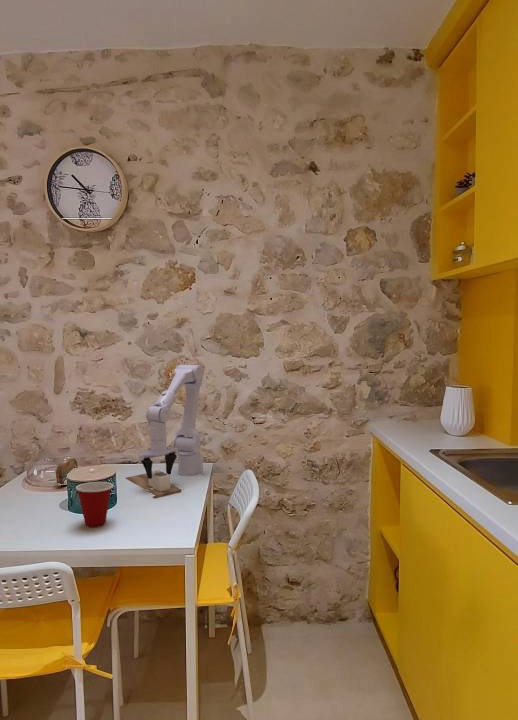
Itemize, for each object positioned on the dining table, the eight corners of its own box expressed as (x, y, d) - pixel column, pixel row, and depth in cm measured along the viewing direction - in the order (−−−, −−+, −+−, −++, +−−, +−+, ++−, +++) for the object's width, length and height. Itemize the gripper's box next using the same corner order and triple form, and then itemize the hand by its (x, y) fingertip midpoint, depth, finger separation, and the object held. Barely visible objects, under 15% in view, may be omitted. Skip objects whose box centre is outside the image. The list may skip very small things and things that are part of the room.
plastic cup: (121, 518, 155) (120, 481, 154) (100, 532, 145) (99, 492, 144) (92, 514, 158) (90, 477, 158) (69, 528, 148) (67, 488, 147)
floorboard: (148, 475, 199) (148, 472, 199) (181, 492, 179) (181, 488, 179) (124, 480, 193) (124, 477, 193) (155, 498, 173) (155, 495, 173)
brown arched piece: (63, 489, 184) (62, 466, 183) (54, 489, 184) (53, 466, 183) (78, 476, 199) (78, 455, 198) (71, 476, 199) (70, 455, 198)
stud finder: (158, 483, 186) (158, 468, 186) (170, 489, 179) (169, 474, 179) (148, 485, 184) (148, 470, 183) (160, 491, 177) (159, 476, 176)
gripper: (170, 434, 188) (171, 469, 189) (134, 440, 179) (135, 477, 180) (180, 437, 182) (181, 473, 183) (143, 443, 173) (144, 482, 174)
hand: (159, 475), depth 181 cm, fingers open, 7 cm apart
